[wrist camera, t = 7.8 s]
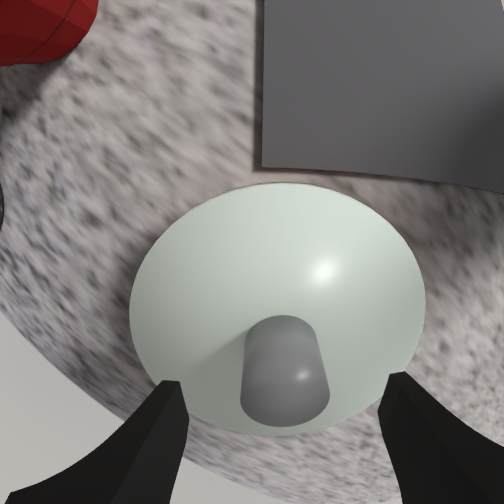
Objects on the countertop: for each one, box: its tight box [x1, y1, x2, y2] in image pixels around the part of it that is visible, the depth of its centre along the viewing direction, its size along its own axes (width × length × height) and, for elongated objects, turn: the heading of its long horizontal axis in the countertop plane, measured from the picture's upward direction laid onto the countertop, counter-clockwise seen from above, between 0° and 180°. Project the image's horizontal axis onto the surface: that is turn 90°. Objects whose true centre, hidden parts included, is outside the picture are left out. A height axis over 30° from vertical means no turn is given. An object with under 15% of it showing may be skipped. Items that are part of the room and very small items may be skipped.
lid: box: [129, 182, 426, 436], centre depth 11 cm, size 13×13×4 cm
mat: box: [262, 0, 504, 194], centre depth 12 cm, size 16×16×1 cm
